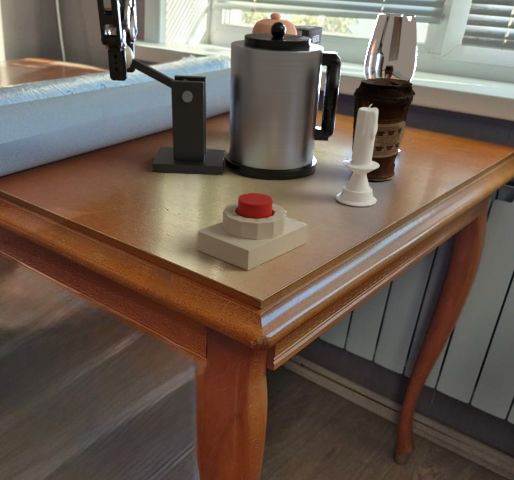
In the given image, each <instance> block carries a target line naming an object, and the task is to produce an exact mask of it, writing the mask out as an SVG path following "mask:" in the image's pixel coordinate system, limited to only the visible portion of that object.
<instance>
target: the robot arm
mask: <svg viewBox="0 0 514 480" xmlns="http://www.w3.org/2000/svg"><path fill="white" fill-rule="evenodd" d="M96 4H97V12H98V14H97V15H98V22H99V29H100V36H101V37H100V42H101V45H102V46H104V47H105V49H107V59H108V70H109V72H108V73H109V79H111V81H115V82H116V81H117V82H125V81H126V80H127V79H128V73H129V74H132V73H134V72H136V69H135V68H133V67H131V66H130V67H129V68H128V69H127V63H126V50H125V48H126V45H127V46H129V47H130V48H131V50H132V52H133V54H134V58H135V59H136V52H135V51H136V50H135V44H136V40H137V35H138V33H139V30H138V19H137V18H138V17H137V15H138V14H137V0H96ZM112 32H115V34H112ZM122 49H124V50H122Z"/></svg>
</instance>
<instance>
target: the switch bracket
mask: <svg viewBox="0 0 514 480" xmlns="http://www.w3.org/2000/svg"><path fill="white" fill-rule="evenodd" d="M173 79H174V80H172V81H171V88H170V91H171V93H170V94H171V95H170V96H171V122H172V123H171V125H172V147H171V146H160V148H159V150H158V151H157V154H156V155H155V158H154V160H153V161H152V164H151V167H152V172H153V173H170V174H171V173H172V174H192V175H194V174H196V175H216V176H219V175H220V176H223V174H224V168H225V163H226V149H222V148H221V149H219V148H218V149H216V148H207V76H203V75H199V76H198V75H180V74H178V75H177V74H176V75H174V77H173ZM184 79H186V80H188V81H183V80H184Z"/></svg>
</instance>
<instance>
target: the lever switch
mask: <svg viewBox="0 0 514 480" xmlns="http://www.w3.org/2000/svg"><path fill="white" fill-rule="evenodd" d="M122 50H124V49H122ZM125 50H126V63H127V69H128V68H129V67H130V66H131V67H133V68H135V71H136V70H137V71H138V72H140V73H142V74H144V75H146V76H148V77H150V78H152V79H153V80H155V81H157V82H159V83H160V84H163V85H164V86H167V87H168V88H170V89H171V81H172V80H174V78H172V77H170V76H168V75H166V74H165V73H163V72H161V71H159V70H157V69H155V68H153V67H152V66H150V65H148V64H146V63H144V62H142V61H141V60H139V59H137V58H136V57H135V58H134V54H133V52H132V50H131V48H130V47H129V46H127V45H126V48H125ZM183 81H188V80H186V79H184V80H183Z"/></svg>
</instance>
